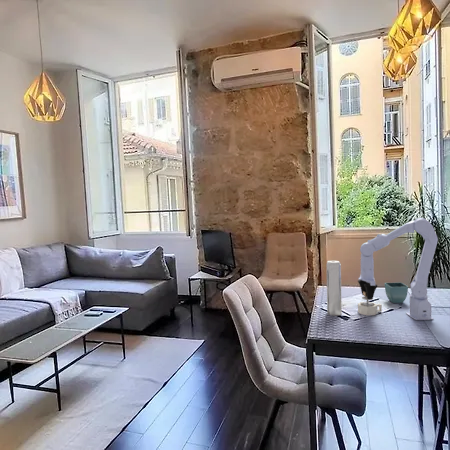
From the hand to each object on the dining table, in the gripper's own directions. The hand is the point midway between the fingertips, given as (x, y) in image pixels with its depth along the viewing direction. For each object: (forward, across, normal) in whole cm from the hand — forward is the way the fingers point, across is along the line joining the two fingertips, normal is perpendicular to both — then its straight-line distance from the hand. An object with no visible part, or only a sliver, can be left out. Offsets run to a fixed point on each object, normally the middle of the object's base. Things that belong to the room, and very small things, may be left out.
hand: (367, 297), depth 185 cm
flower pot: (+8, -15, +20) cm, 26 cm away
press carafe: (+7, 0, +1) cm, 7 cm away
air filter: (+8, -1, -15) cm, 17 cm away
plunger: (+4, 0, 0) cm, 4 cm away
